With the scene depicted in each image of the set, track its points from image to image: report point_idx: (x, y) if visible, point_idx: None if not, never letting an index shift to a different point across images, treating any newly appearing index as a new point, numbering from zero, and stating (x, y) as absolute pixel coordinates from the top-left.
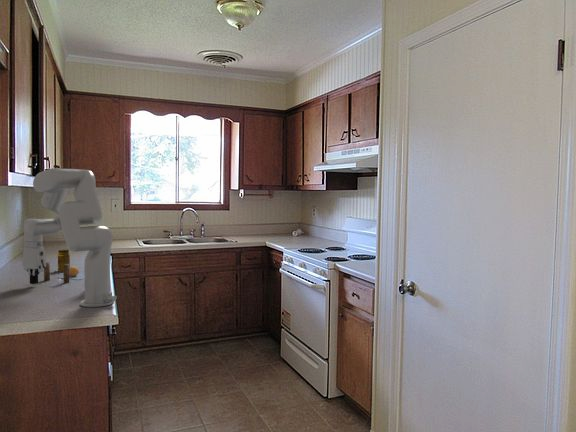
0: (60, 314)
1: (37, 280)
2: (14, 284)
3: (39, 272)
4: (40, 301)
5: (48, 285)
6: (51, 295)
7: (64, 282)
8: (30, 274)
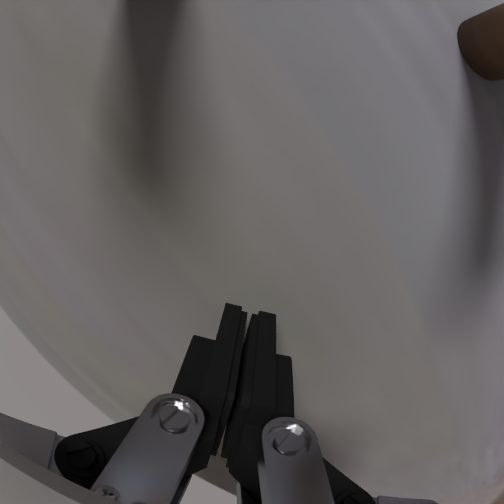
0: (487, 501)
1: (288, 365)
2: (3, 246)
3: (349, 485)
4: (441, 496)
5: (384, 233)
6: (472, 453)
7: (485, 75)
8: (194, 470)
